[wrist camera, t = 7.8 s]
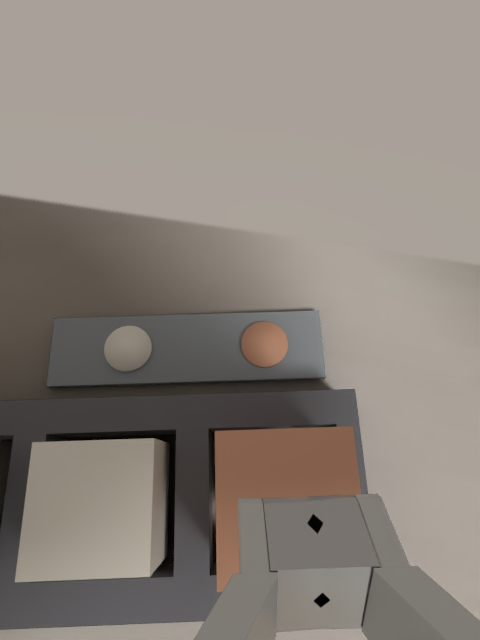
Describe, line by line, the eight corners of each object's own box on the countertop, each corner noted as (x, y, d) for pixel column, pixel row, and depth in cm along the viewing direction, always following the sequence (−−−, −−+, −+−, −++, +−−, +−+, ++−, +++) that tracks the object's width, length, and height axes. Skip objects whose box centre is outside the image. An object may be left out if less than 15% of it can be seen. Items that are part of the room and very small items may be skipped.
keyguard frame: (341, 397, 21) (354, 389, 19) (364, 595, 18) (383, 613, 16) (-91, 412, 21) (-133, 404, 19) (-137, 615, 18) (-193, 637, 16)
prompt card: (317, 313, 23) (319, 309, 22) (324, 378, 22) (326, 376, 21) (57, 320, 23) (52, 317, 22) (49, 387, 21) (44, 385, 21)
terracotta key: (329, 434, 18) (353, 426, 14) (342, 559, 16) (372, 585, 12) (219, 438, 18) (214, 430, 14) (221, 564, 16) (216, 592, 12)
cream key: (169, 443, 20) (154, 438, 16) (167, 555, 18) (149, 577, 14) (70, 447, 19) (32, 442, 16) (59, 559, 18) (14, 582, 14)
